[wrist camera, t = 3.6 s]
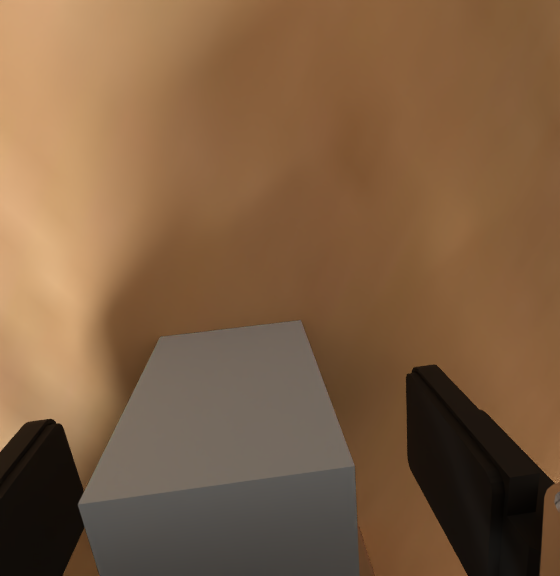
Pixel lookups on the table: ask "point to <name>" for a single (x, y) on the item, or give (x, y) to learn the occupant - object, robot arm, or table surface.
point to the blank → (226, 464)
